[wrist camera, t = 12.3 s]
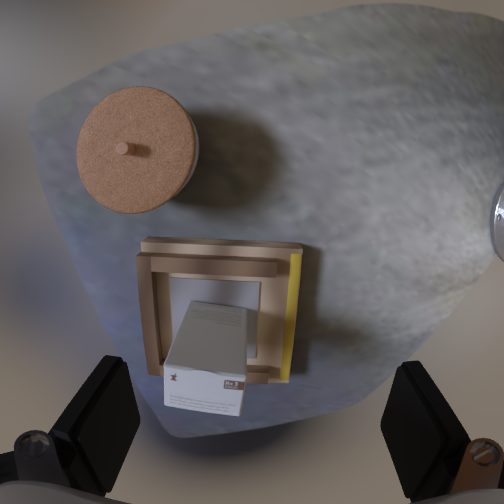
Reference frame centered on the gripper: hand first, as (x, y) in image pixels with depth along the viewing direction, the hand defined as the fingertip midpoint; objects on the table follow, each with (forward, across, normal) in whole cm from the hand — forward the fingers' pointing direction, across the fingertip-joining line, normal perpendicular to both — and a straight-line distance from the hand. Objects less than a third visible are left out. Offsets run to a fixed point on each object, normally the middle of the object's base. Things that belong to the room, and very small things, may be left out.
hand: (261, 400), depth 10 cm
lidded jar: (+24, +11, -9) cm, 28 cm away
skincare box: (+22, +4, +8) cm, 24 cm away
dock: (+24, +4, +8) cm, 26 cm away
